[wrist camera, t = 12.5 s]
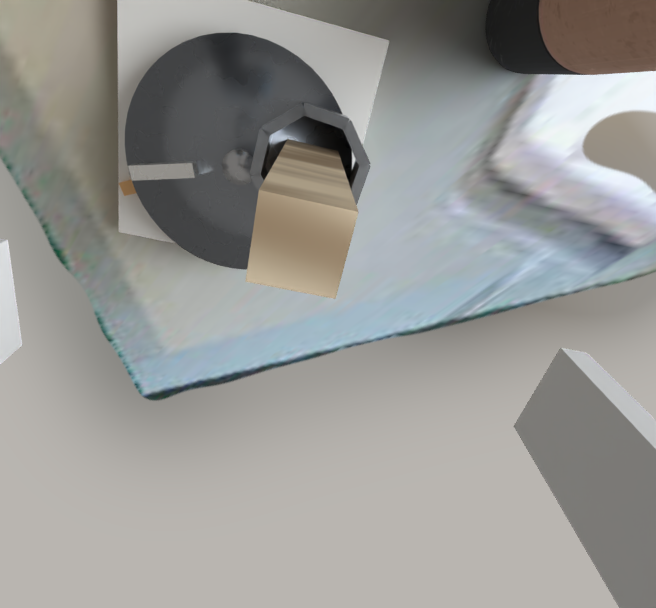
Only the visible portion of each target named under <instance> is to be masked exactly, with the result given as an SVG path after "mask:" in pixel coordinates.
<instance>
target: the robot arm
mask: <svg viewBox="0 0 656 608" xmlns="http://www.w3.org/2000/svg"><path fill="white" fill-rule="evenodd" d="M21 346H22V339H21V332H20V324H19V317H18V310H17V303H16V296H15V288H14V281H13V273H12V266H11V259H10V252H9V245H8V240H7V239H2V238H0V364H1V363H2V362H3V361H4V360H6V359H7V358H8V357H9V356H10V355H11V354H12V353H14V352H15V351H16V350H17V349H18V348H19V347H21ZM514 427H515V429H516V431H517V433H518V434H519V436H520V438H521V440H522V441H523V443H524V445H525V446H526V448H527V450H528V452H529V453H530V455H531V456H532V458H533V460H534V462H535V464H536V465H537V467H538V469H539V470H540V472H541V474H542V476H543V477H544V479H545V481H546V483H547V484H548V486H549V487H550V489H551V491H552V493H553V495H554V496H555V498H556V500H557V501H558V503H559V505H560V507H561V508H562V510H563V512H564V514H565V515H566V517H567V519H568V520H569V522H570V524H571V525H572V527H573V529H574V531H575V532H576V534H577V536H578V538H579V539H580V541H581V543H582V544H583V546H584V548H585V550H586V551H587V553H588V555H589V557H590V558H591V560H592V562H593V563H594V565H595V567H596V569H597V570H598V572H599V574H600V575H601V577H602V579H603V581H604V582H605V584H606V586H607V587H608V589H609V591H610V592H611V594H612V596H613V598H614V600H615V601H616V603H617V605H618V606H619V608H656V420H655V419H654V418H653V417H652V416H651V415H650V414H649V413H648V412H647V411H646V410H645V409H644V408H643V407H642V406H641V405H640V404H639V403H638V402H637V401H636V400H635V399H634V398H633V397H632V396H631V395H630V394H629V393H628V392H627V391H626V390H625V389H624V388H623V387H622V386H621V385H620V384H619V383H618V382H617V381H616V380H614V379H613V377H612V376H611V375H609V374H608V373H607V372H606V371H605V370H604V369H603V368H602V367H601V366H600V365H599V364H598V363H597V362H596V361H595V360H594V359H593V358H592V357H591V356H590V355H589V354H588V353H585V352H581V351H576V350H570V349H565V348H560V349H559V351H558V353H557V354H556V356H555V358H554V359H553V361H552V363H551V364H550V366H549V368H548V369H547V372H546V373H545V375H544V376H543V378H542V380H541V381H540V383H539V385H538V386H537V388H536V390H535V391H534V393H533V395H532V396H531V398H530V400H529V401H528V403H527V405H526V406H525V408H524V410H523V412H522V413H521V415H520V417H519V418H518V420H517V422H516V423H515V425H514Z"/></svg>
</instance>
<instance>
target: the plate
mask: <svg viewBox="0 0 656 608" xmlns="http://www.w3.org/2000/svg"><path fill="white" fill-rule="evenodd" d="M117 20H118V196H119V232H121V233H126V234H131V235H136V236H141V237H145V238H150V239H155V240H160V241H165V242H170V243H175V242H174V241H173V240H172V239H170V238H169V237H168V236H167V235H166V234H165V233H164V232H163V231H162V230H161V229H160V228H159V227H158V225H157V224H156V223H155V222H154V221H153V219H152V218H151V217H150V215H149V214H148V212H147V211H146V209H145V208H144V206H143V205H142V203H141V201H140V199H139V197H138V195H137V193H136V191H135V188H134V186H133V183H132V180H131V177H130V174H129V170H128V166H127V161H126V153H125V125H126V119H127V113H128V110H129V106H130V103H131V100H132V97H133V95H134V93H135V91H136V88H137V86H138V84H139V83H140V81H141V80H142V78H143V77H144V75H145V74H146V72H147V71H148V69H149V68H150V67H151V66H152V65H153V64H154V63H155V62H156V61H157V60H158V59H159V58H160V57H161V56H163V55H164V54H165V53H166V52H168V51H169V50H170V49H172V48H174V47H175V46H177V45H179V44H181V43H183V42H185V41H187V40H190V39H193V38H196V37H198V36H202V35H207V34H213V33H241V34H248V35H253V36H257V37H260V38H263V39H267V40H269V41H271V42H274V43H276V44H278V45H280V46H282V47H284V48H286V49H287V50H289V51H290V52H292V53H294V54H295V55H297V56H298V57H299V58H301V59H302V60H303V61H304V62H305V63H306V64H308V65H309V66H310V67H311V68H312V69H313V70H314V71H315V72H316V73H317V74H318V75H319V77H320V78H321V79H322V80H323V81H324V83H325V84H326V85H327V87H328V88H329V90H330V91H331V93H332V94H333V96H334V98H335V99H336V101H337V103H338V105H339V107H340V109H341V111H342V114H343V115H346V116H347V117H348V118H349V119H350V120H351V121H352V123H353V125H354V128H355V130H356V132H357V134H358V137H359V139H360V141H361V143H362V146H363V143H364V139H365V135H366V131H367V127H368V123H369V119H370V115H371V111H372V108H373V104H374V100H375V96H376V92H377V88H378V84H379V80H380V76H381V72H382V68H383V65H384V61H385V57H386V53H387V49H388V45H389V40H386V39H382V38H379V37H375V36H372V35H368V34H365V33H361V32H358V31H354V30H351V29H347V28H344V27H340V26H337V25H333V24H330V23H326V22H323V21H319V20H316V19H312V18H308V17H305V16H301V15H298V14H294V13H291V12H287V11H284V10H280V9H277V8H273V7H270V6H266V5H263V4H259V3H256V2H252V1H249V0H117ZM355 160H356V159H355V156H354V154H353V152H352V169H353V166H354V163H355ZM175 244H177V243H175Z"/></svg>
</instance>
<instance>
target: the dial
mask: <svg viewBox="0 0 656 608" xmlns="http://www.w3.org/2000/svg"><path fill="white" fill-rule="evenodd" d="M287 139H290V140H294V141H299V142H303V143H307V144H311V145H315V146H320V147H324V148H328V149H332V150H336V151H338V152H339V155H340V158H341V161H342V164H343V167H344V170H345V173H346V176H347V179H348V182H349V185H350V188H351V191H352V194H353V197H354V200H355V203H356V205H357V203H358V200H359V197H360V194H361V191H362V188H363V186H364V183H365V180H366V177H367V174H368V172H369V169H370V165H369V164H370V162H369V159H368V157H367V155H366V153H365V150H364V148H363V146H362V143H361V141H360V139H359V137H358V134H357V132H356V130H355V128H354V125H353V123H352V121H351V120H350V119H349V118H348V117H347V116H346V115H343V114H342V111H341V109H340V107H339V105H338V103H337V101H336V99H335V98H334V96H333V94H332V93H331V91H330V90H329V88H328V87H327V85H326V84H325V83H324V81H323V80H322V79H321V78H320V77H319V75H318V74H317V73H316V72H315V71H314V70H313V69H312V68H311V67H310V66H309V65H308V64H306V63H305V62H304V61H303V60H302V59H301V58H299V57H298V56H297V55H295V54H294V53H292V52H290V51H289V50H287V49H286V48H284V47H282V46H280V45H278V44H276V43H274V42H271V41H269V40H267V39H263V38H260V37H257V36H253V35H248V34H241V33H213V34H207V35H202V36H198V37H196V38H193V39H190V40H187V41H185V42H183V43H181V44H179V45H177V46H175V47H174V48H172V49H170V50H169V51H168V52H166V53H165V54H164V55H163V56H161V57H160V58H159V59H158V60H157V61H156V62H155V63H154V64H153V65H152V66H151V67H150V68H149V69H148V71H147V72H146V74H145V75H144V77H143V78H142V80H141V81H140V83H139V84H138V86H137V88H136V91H135V93H134V95H133V97H132V100H131V103H130V106H129V110H128V113H127V119H126V125H125V153H126V161H127V166H128V170H129V174H130V177H131V180H132V183H133V186H134V188H135V191H136V193H137V195H138V197H139V199H140V201H141V203H142V205H143V206H144V208H145V209H146V211H147V212H148V214H149V215H150V217H151V218H152V219H153V221H154V222H155V223H156V224H157V225H158V227H159V228H160V229H161V230H162V231H163V232H164V233H165V234H166V235H167V236H168V237H169V238H170V239H172V240H173V241H174V242H175V243H177V244H178V245H179V246H181V247H182V248H183V249H185V250H187V251H188V252H190V253H192V254H193V255H195V256H197V257H199V258H201V259H204V260H206V261H208V262H211V263H214V264H217V265H220V266H225V267H230V268H237V269H247V268H248V261H249V254H250V247H251V240H252V234H253V227H254V220H255V213H256V206H257V199H258V193H259V189H260V187H261V185H262V184H263V182H264V180H265V178H266V176H267V175H268V173H269V171H270V169H271V168H272V166H273V164H274V162H275V161H276V159H277V157H278V155H279V153H280V152H281V150H282V148H283V146H284V145H285V143H286V141H287ZM352 152H353V154H354V156H355V159H356V160H355V163H354V166H353V169H352Z"/></svg>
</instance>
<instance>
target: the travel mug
mask: <svg viewBox="0 0 656 608" xmlns="http://www.w3.org/2000/svg"><path fill="white" fill-rule="evenodd" d="M486 36H487V41H488V45H489V48H490V50H491V52H492V54H493V56H494V57H495V59H496V60H497V61H498V62H499V63H500V64H501V65H502V66H503V67H505V68H506V69H508V70H510V71H513V72H517V73H523V74H570V75H597V74H612V73H628V72H643V71H656V0H491V2H490V5H489V8H488V12H487V18H486Z"/></svg>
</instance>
